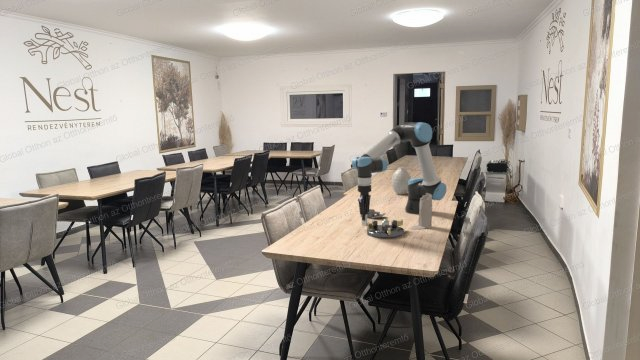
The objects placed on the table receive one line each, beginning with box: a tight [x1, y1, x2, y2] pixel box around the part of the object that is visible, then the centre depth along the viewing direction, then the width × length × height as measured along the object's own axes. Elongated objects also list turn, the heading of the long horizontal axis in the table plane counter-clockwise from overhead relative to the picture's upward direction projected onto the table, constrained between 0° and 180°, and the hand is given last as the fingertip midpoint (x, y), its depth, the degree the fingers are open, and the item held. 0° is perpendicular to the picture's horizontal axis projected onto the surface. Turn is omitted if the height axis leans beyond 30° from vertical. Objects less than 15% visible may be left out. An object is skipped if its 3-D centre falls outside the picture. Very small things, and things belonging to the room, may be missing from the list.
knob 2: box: [385, 224, 391, 235], centre depth 229 cm, size 8×3×4 cm, turn 1°
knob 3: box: [391, 218, 404, 228], centre depth 242 cm, size 8×3×4 cm, turn 121°
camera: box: [360, 208, 386, 219], centre depth 273 cm, size 9×12×15 cm
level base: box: [366, 218, 405, 240], centre depth 238 cm, size 21×21×8 cm
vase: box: [391, 166, 412, 196], centre depth 345 cm, size 16×16×22 cm
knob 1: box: [366, 220, 379, 230], centre depth 239 cm, size 8×3×4 cm, turn 132°
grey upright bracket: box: [409, 193, 433, 230], centre depth 247 cm, size 7×14×20 cm, turn 112°
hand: (364, 225), depth 238 cm, fingers closed
